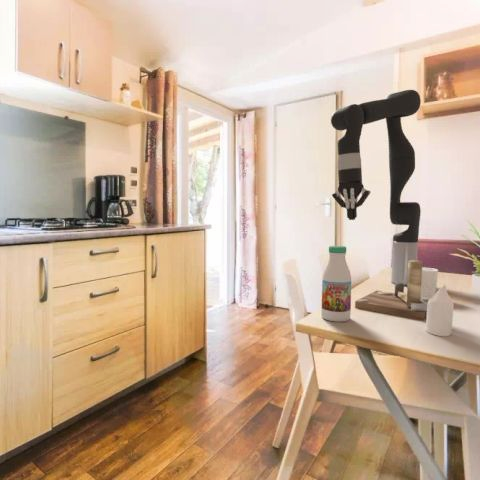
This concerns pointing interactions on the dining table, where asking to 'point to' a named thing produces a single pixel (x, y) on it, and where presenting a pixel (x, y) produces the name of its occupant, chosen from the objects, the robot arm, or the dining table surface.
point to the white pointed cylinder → (440, 313)
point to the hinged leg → (411, 284)
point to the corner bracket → (419, 306)
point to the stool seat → (390, 305)
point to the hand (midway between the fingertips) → (352, 219)
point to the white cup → (428, 282)
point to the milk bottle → (336, 286)
